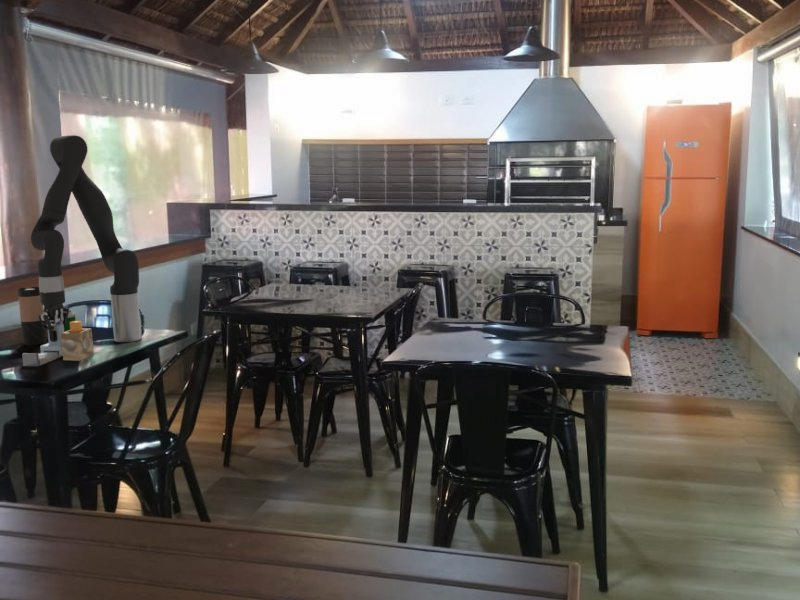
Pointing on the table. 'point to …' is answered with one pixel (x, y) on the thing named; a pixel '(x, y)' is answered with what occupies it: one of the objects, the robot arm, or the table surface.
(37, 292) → the travel mug
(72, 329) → the orange rounded piece
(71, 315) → the soda can
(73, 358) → the open wooden box
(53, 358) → the rail
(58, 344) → the carriage
